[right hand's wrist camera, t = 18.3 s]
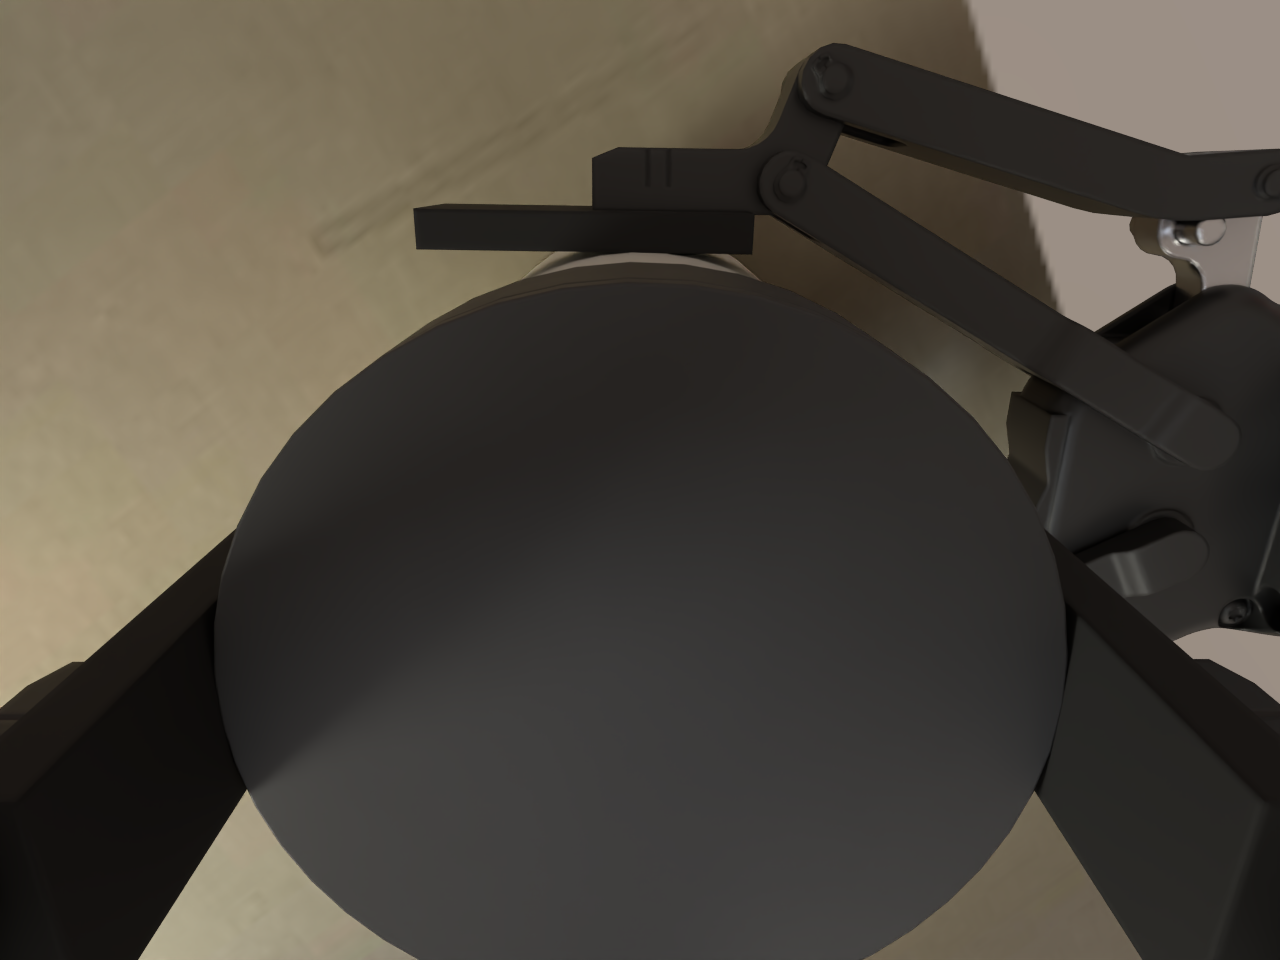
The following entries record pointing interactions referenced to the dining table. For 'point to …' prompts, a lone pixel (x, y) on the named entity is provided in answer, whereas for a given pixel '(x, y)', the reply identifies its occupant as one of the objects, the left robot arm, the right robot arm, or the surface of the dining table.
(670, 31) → the dining table surface
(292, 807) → the lid
